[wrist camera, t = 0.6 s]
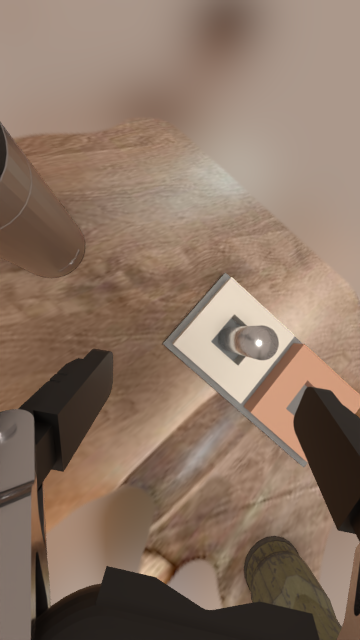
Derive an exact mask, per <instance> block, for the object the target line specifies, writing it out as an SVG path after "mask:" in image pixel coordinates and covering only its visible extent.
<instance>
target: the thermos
mask: <svg viewBox="0 0 360 640" xmlns="http://www.w3.org/2000/svg"><path fill="white" fill-rule="evenodd" d="M244 573H245V579H246V582H247V584H248V587H249V589H250V591H251V599H252V602H253V603H254V602H264V603H269V604H273V605H277V606H282V607H286V608H290V609H295V610H299V611H303V612H308V613H312V614H313V617H314V621H315V625H316V628H317V632H318V635H319V638H320V639H321V640H337V637H338V635H339V633H340V631H341V629H342V627H341V625H340V624H339V622H338V620H337V619H336V616H335V613H334V610H333V608H332V605H331V602H330V599H329V598H328V597H327V595H326V593H325V592H324V590H323V589H322V587H321V585H320V584H319V582H318V581H317V579H316V578H315V576H314V575H313V573H312V572H311V570H310V568H309V567H308V566H307V564H306V563H305V562H304V561H303V560H302V558H300V556H299V554H298V552H297V550H296V549H295V548H294V546H293V545H292V544H291V543H290V542H289V541H287V540H286V539H284V538H281V537H276V536H273V537H267V538H264V539H262V540H261V541H259V542H257V543H256V544H255V545H254V546H253V547H252V548H251V550H250V552H249V553H248V555H247V557H246V561H245V566H244Z"/></svg>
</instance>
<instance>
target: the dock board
mask: <svg viewBox="0 0 360 640" xmlns="http://www.w3.org/2000/svg"><path fill="white" fill-rule="evenodd" d="M260 325H263V326H268V327H270V328H271V329H273V330H274V331H275V333H276V334H277V337H278V341H279V346H278V350H277V352H276V353H275V355H274V356H273V357H271V358H270V359H267V360H257V359H253V358H250V357H246V356H243V355H239V354H236V353H232V352H229V351H226V350H224V349H222V348H221V346H220V345H219V342H218V337H219V334H220V332H221V331H222V330H223V329H224V328H226V327H239V326H260ZM163 344H164V345H165V346H166V347H167V348H168V349H169V350H170V351H172V352H173V353H174V354H175V355H176V356H177V357H178V358H180V359H181V360H182V361H183V362H184V363H185V364H186V365H188V366H189V367H190V368H191V369H192V370H193V371H194V372H196V373H197V374H198V375H199V376H200V377H201V378H202V379H204V380H205V381H206V382H207V383H208V384H209V385H210V386H212V387H213V388H214V389H215V390H216V391H217V392H218V393H219V394H221V395H222V396H223V397H224V398H225V399H226V400H227V401H229V402H230V403H231V404H232V405H233V406H234V407H235V408H237V409H238V410H239V411H240V412H241V413H242V414H243V415H245V416H246V417H247V418H248V419H249V420H250V421H251V422H253V423H254V424H255V425H256V426H257V427H258V428H259V429H261V430H262V431H263V432H264V433H265V434H266V435H267V436H268V437H270V438H271V439H272V440H273V441H274V442H275V443H276V444H278V445H279V446H280V447H281V448H282V449H283V450H284V451H286V452H287V453H288V454H289V455H290V456H291V457H292V458H294V459H295V460H296V461H297V462H298V463H299V464H300V465H302V466H303V467H305V466H306V464H307V463H308V461H307V459H306V457H305V454H304V452H303V450H302V447H301V445H300V443H299V441H298V438H297V436H296V434H295V431H294V426H293V420H294V415H295V413H296V410H297V408H298V406H299V403H300V401H301V398H302V396H303V394H304V391H305V389H306V388H307V387H316V388H321V389H327V390H331V391H332V392H333V393H334V394H335V396H336V397H337V398H338V399H339V401H340V402H341V403H342V405H343V406H345V407H347V408H348V409H349V410H350V411H352V412H353V413H354V414H355V413H356V412H357V410H358V409H359V408H360V395H359V394H358V393H357V392H356V391H355V390H354V389H353V388H352V387H351V386H350V385H349V384H347V383H346V382H345V381H344V380H343V379H342V378H341V377H340V376H339V375H338V374H337V373H335V372H334V371H333V370H332V369H331V368H330V367H329V366H328V365H327V364H326V363H325V362H323V361H322V360H321V359H320V358H319V357H318V356H317V355H316V354H315V353H314V352H313V351H311V350H310V349H309V348H308V347H307V346H306V345H305V344H302V343H301V342H300V341H299V340H298V339H297V338H296V337H295V335H294V334H293V333H292V332H291V331H290V330H289V329H288V328H286V327H285V326H284V325H283V324H282V323H281V322H280V321H279V320H278V319H277V318H276V317H274V316H273V315H272V314H271V313H270V312H269V311H268V310H267V309H266V308H265V307H264V306H262V305H261V304H260V303H259V302H258V301H257V300H256V299H255V298H254V297H253V296H252V295H250V294H249V293H248V292H247V291H246V290H245V289H244V288H243V287H242V286H241V285H240V284H238V283H237V282H236V281H235V280H234V279H233V278H232V277H229V276H228V275H227V274H226V273H224V274H223V275H222V276H221V278H220V279H219V280H218V281H217V282H216V283H215V284H214V286H213V287H212V288H211V289H210V290H209V291H208V292H207V294H206V295H205V296H204V297H203V298H202V299H201V300H200V302H199V303H198V304H197V305H196V306H195V307H194V308H193V310H192V311H191V312H190V313H189V314H188V315H187V316H186V317H185V319H184V320H183V321H182V322H181V323H180V324H179V325H178V327H177V328H176V329H175V330H174V331H173V332H172V333H171V335H170V336H169V337H168V338H167V339H166V340H165V341H164V343H163Z"/></svg>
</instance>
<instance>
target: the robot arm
mask: <svg viewBox="0 0 360 640" xmlns="http://www.w3.org/2000/svg"><path fill="white" fill-rule="evenodd" d="M84 251H85V242H84V237H83V235H82V232H81V230H80V229H79V228H78V226H77V225H76V223H75V222H74V221H73V219H72V218H71V217H70V215H69V214H68V212H67V211H66V210H65V208H64V207H63V206H62V204H61V203H60V201H59V200H58V199H57V197H56V196H55V195H54V193H53V192H52V191H51V189H50V188H49V187H48V185H47V184H46V183H45V181H44V180H43V178H42V177H41V176H40V174H39V173H38V172H37V170H36V169H35V168H34V166H33V165H32V164H31V162H30V161H29V160H28V158H27V157H26V155H25V154H24V153H23V151H22V150H21V149H20V148H19V146H18V145H17V144H16V142H15V141H14V140H13V138H12V137H11V136H10V134H9V133H8V131H7V130H6V129H5V127H4V126H3V125H2V123H1V122H0V258H2V259H4V260H6V261H8V262H11V263H13V264H15V265H17V266H19V267H21V268H23V269H25V270H27V271H29V272H31V273H34V274H36V275H39V276H42V277H48V278H54V277H60V276H64V275H66V274H68V273H70V272H71V271H73V270H74V269H75V268H76V267H77V266H78V265H79V263H80V262H81V260H82V258H83V255H84ZM112 384H113V353H112V352H111V351H105V350H99V349H92V350H91V351H90V352H89V353H88V354H87V355H86V356H85V357H84V358H83V359H80V358H78V359H76V360H74V361H72V362H70V363H68V364H66V365H65V366H64V367H63V368H62V369H60V370H59V371H58V372H57V374H55V375H54V376H53V377H52V378H51V379H50V381H48V382H47V383H45V384H44V385H43V386H42V387H41V388H40V389H39V390H38V391H37V392H36V393H35V394H34V395H33V396H31V397H30V398H29V399H28V400H27V401H26V402H25V403H24V404H23V405H22V406H21V407H20V408H19V409H12V410H6V411H2V412H0V640H321V639H320V638H319V635H318V632H317V628H316V625H315V621H314V617H313V614H312V613H308V612H303V611H299V610H295V609H290V608H286V607H282V606H277V605H273V604H269V603H264V602H254V603H249V604H243V605H238V606H232V607H227V608H222V609H216V610H205V609H203V608H201V607H200V606H198V605H197V604H195V603H194V602H192V601H191V600H189V599H188V598H186V597H184V596H183V595H181V594H180V593H178V592H177V591H175V590H174V589H172V588H171V587H169V586H168V585H166V584H165V583H163V582H162V581H160V580H159V579H157V578H156V577H152V576H147V575H143V574H139V573H134V572H130V571H126V570H121V569H117V568H113V567H108V566H107V567H106V571H105V574H104V577H103V580H102V584H96V585H92V586H89V587H86V588H83V589H80V590H78V591H76V592H74V593H72V594H70V595H68V596H66V597H64V598H63V599H61V600H60V601H58V602H57V603H55V604H54V605H52V606H51V605H50V604H51V602H50V584H49V571H48V561H47V548H46V523H45V498H44V482H43V481H44V479H45V478H46V476H47V475H48V473H49V472H50V470H51V469H53V470H57V471H62V472H64V470H65V468H66V467H67V465H68V463H69V462H70V460H71V458H72V457H73V455H74V453H75V452H76V450H77V448H78V447H79V445H80V443H81V442H82V440H83V438H84V437H85V435H86V433H87V432H88V430H89V428H90V427H91V425H92V423H93V422H94V420H95V418H96V417H97V415H98V414H99V412H100V410H101V409H102V407H103V405H104V404H105V402H106V400H107V399H108V397H109V395H110V392H111V389H112ZM293 426H294V431H295V434H296V436H297V438H298V441H299V443H300V445H301V447H302V450H303V452H304V454H305V457H306V459H307V461H308V463H309V466H310V468H311V470H312V473H313V475H314V477H315V479H316V482H317V484H318V486H319V489H320V491H321V493H322V495H323V498H324V500H325V502H326V505H327V507H328V509H329V511H330V514H331V516H332V518H333V521H334V523H335V525H336V527H337V529H338V530H339V531H344V532H349V533H353V534H356V535H357V537H358V539H359V541H360V418H359V417H358V416H357V415H355V414H354V413H353V412H352V411H350V410H349V409H348V408H347V407H345V406H343V405H342V403H341V402H340V401H339V399H338V398H337V397H336V396H335V394H334V393H333V392H332V391H331V390H327V389H321V388H316V387H307V388H306V389H305V391H304V394H303V396H302V398H301V401H300V403H299V406H298V408H297V410H296V413H295V415H294V420H293ZM337 640H360V543H359V544H358V546H357V547H356V550H355V555H354V562H353V569H352V575H351V581H350V588H349V594H348V600H347V607H346V613H345V619H344V623H343V626H342V629H341V631H340V633H339V635H338V637H337Z"/></svg>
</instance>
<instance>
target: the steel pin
mask: <svg viewBox="0 0 360 640" xmlns="http://www.w3.org/2000/svg"><path fill="white" fill-rule="evenodd" d="M218 342H219V345H220V346H221V348H222V349H224V350H226V351H229V352H232V353H236V354H239V355H243V356H246V357H250V358H253V359H257V360H267V359H270V358H271V357H273V356H274V355H275V353H276V352H277V350H278V346H279V341H278V337H277V334H276V333H275V331H274V330H273V329H271V328H270V327H268V326H263V325H260V326H239V327H226V328H224V329H223V330H222V331H221V332H220V334H219V337H218Z"/></svg>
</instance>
